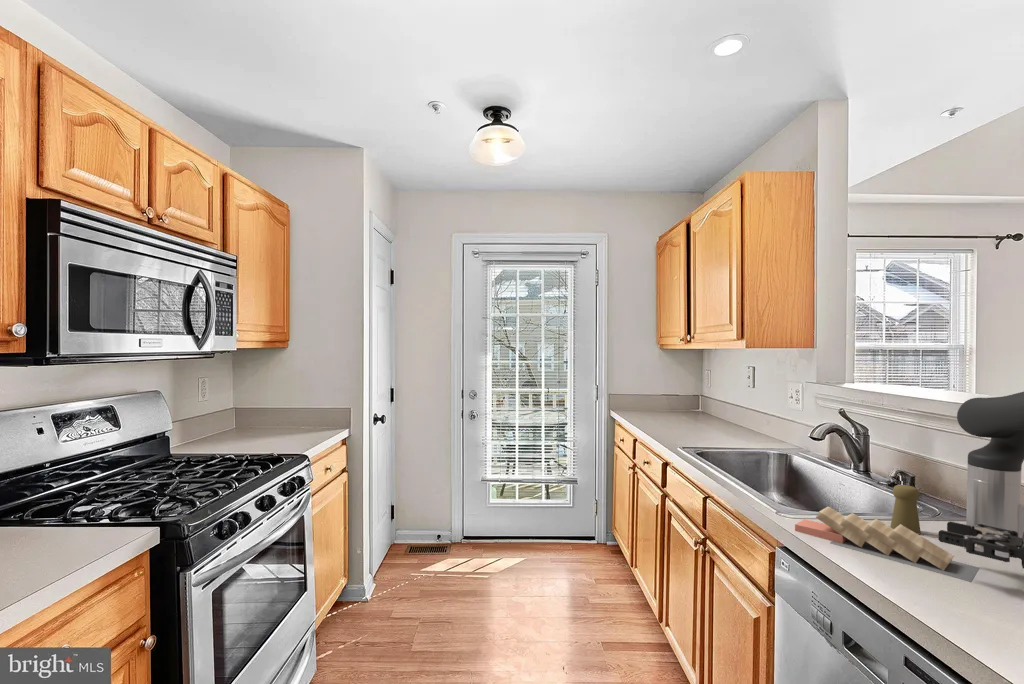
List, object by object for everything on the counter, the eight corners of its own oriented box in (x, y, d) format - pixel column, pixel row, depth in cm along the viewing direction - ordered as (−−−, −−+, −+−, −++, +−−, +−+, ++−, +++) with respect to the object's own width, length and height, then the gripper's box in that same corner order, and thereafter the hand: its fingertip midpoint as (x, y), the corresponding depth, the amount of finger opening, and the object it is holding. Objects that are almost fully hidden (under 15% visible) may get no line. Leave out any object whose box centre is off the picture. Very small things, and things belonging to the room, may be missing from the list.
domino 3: (900, 542, 114) (852, 512, 120) (892, 549, 110) (843, 518, 116) (895, 548, 114) (848, 519, 121) (888, 555, 110) (839, 524, 117)
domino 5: (954, 556, 107) (900, 524, 114) (948, 563, 103) (892, 530, 110) (949, 562, 107) (896, 530, 114) (943, 570, 103) (888, 537, 110)
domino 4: (926, 549, 110) (876, 518, 117) (920, 556, 106) (867, 524, 113) (922, 555, 111) (872, 525, 117) (915, 563, 107) (863, 531, 114)
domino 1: (851, 529, 121) (804, 519, 128) (842, 535, 117) (794, 524, 124) (851, 537, 120) (804, 526, 128) (842, 543, 117) (795, 532, 124)
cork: (926, 536, 123) (927, 490, 123) (897, 534, 124) (898, 488, 124) (912, 527, 129) (913, 483, 129) (885, 525, 130) (885, 481, 130)
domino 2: (873, 534, 117) (828, 506, 124) (865, 540, 113) (819, 511, 120) (869, 540, 118) (824, 512, 125) (861, 547, 114) (815, 517, 121)
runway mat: (979, 569, 105) (979, 567, 105) (970, 583, 99) (970, 581, 99) (844, 534, 123) (844, 533, 123) (829, 544, 117) (829, 543, 117)
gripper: (1062, 527, 98) (950, 505, 110) (1057, 545, 89) (935, 519, 101) (1062, 567, 98) (949, 540, 110) (1056, 589, 89) (934, 558, 101)
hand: (943, 530), depth 106 cm, fingers open, 7 cm apart
